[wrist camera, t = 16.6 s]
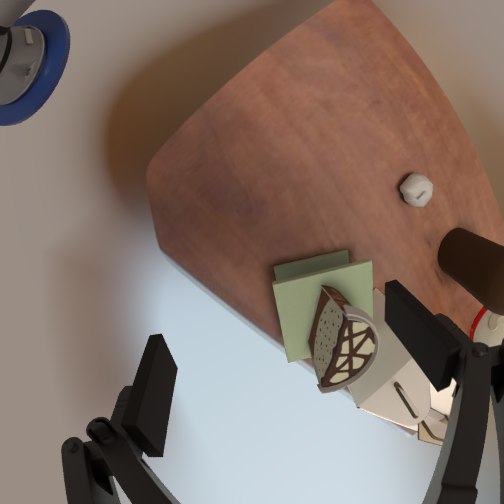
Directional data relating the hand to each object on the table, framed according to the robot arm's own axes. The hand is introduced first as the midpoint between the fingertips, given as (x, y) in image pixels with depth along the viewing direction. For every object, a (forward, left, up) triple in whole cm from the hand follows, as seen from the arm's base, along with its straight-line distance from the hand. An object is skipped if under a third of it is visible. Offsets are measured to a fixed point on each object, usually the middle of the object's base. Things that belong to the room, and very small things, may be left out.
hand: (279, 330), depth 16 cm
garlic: (+27, -1, -29) cm, 40 cm away
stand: (+8, -15, -29) cm, 33 cm away
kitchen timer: (+55, -39, -29) cm, 73 cm away
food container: (+9, -15, -21) cm, 27 cm away
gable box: (+21, -30, -29) cm, 47 cm away
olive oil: (+38, -15, -29) cm, 50 cm away
